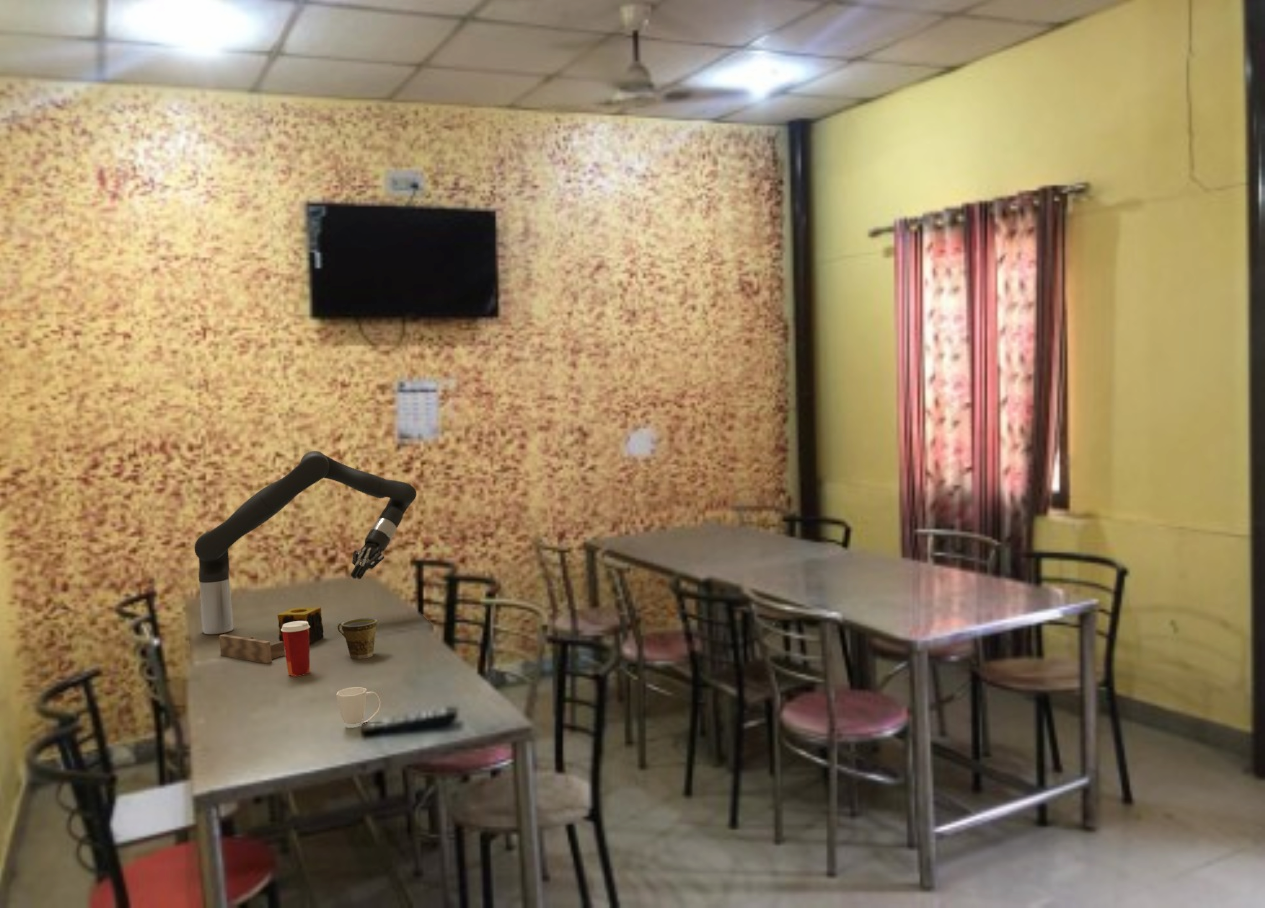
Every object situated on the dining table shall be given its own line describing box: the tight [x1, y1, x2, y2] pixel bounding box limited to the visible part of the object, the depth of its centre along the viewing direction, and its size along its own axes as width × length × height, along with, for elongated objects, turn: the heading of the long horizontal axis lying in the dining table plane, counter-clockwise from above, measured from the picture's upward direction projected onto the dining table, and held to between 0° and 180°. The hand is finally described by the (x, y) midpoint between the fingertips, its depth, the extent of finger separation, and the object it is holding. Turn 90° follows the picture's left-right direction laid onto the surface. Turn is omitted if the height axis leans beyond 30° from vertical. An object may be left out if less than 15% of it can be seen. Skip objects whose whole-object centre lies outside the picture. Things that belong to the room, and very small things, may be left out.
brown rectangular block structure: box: [218, 633, 286, 664], centre depth 308 cm, size 22×8×6 cm, turn 56°
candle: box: [277, 606, 325, 646], centre depth 322 cm, size 10×10×10 cm
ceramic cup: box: [337, 617, 378, 660], centre depth 302 cm, size 13×10×10 cm
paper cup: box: [281, 621, 311, 677], centre depth 286 cm, size 8×8×14 cm
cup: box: [335, 686, 382, 725], centre depth 240 cm, size 7×10×8 cm
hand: (355, 577), depth 340 cm, fingers closed
